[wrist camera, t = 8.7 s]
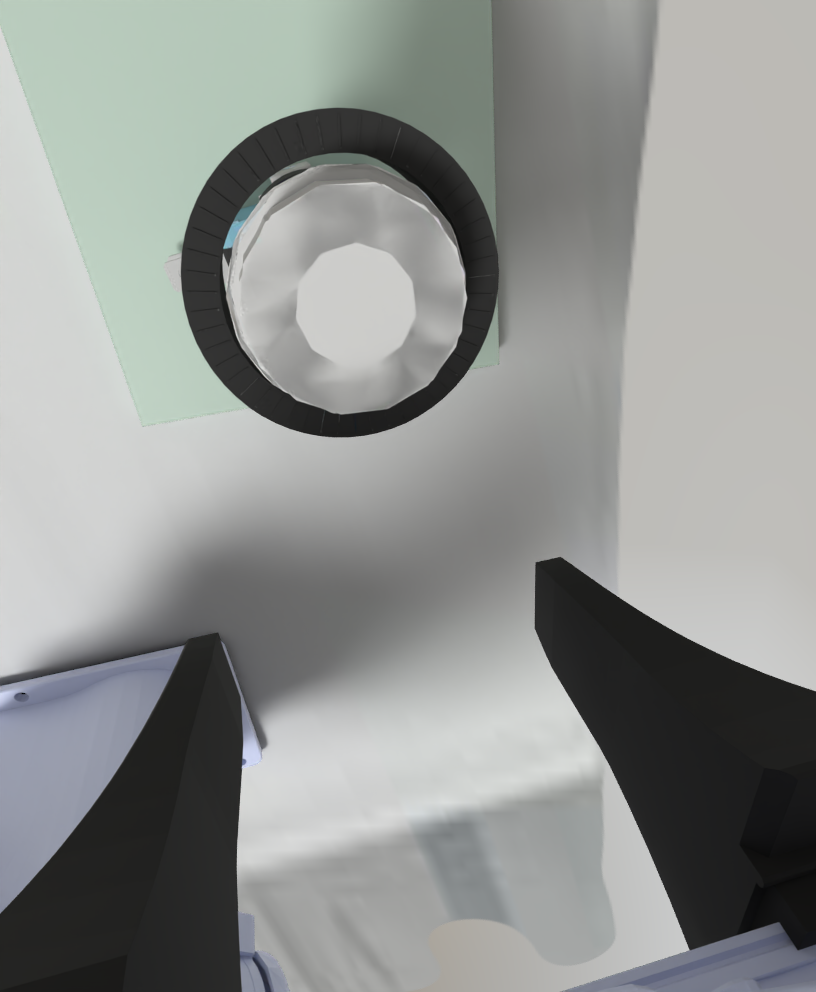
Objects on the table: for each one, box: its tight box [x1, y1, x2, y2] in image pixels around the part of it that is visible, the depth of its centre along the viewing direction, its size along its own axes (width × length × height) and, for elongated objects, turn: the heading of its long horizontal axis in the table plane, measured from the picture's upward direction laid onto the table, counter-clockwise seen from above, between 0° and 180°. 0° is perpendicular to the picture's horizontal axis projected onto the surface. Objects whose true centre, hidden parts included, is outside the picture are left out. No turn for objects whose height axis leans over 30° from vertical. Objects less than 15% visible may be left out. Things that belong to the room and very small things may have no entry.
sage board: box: [0, 0, 499, 427], centre depth 18 cm, size 12×12×1 cm
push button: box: [164, 108, 499, 437], centre depth 14 cm, size 7×5×10 cm
